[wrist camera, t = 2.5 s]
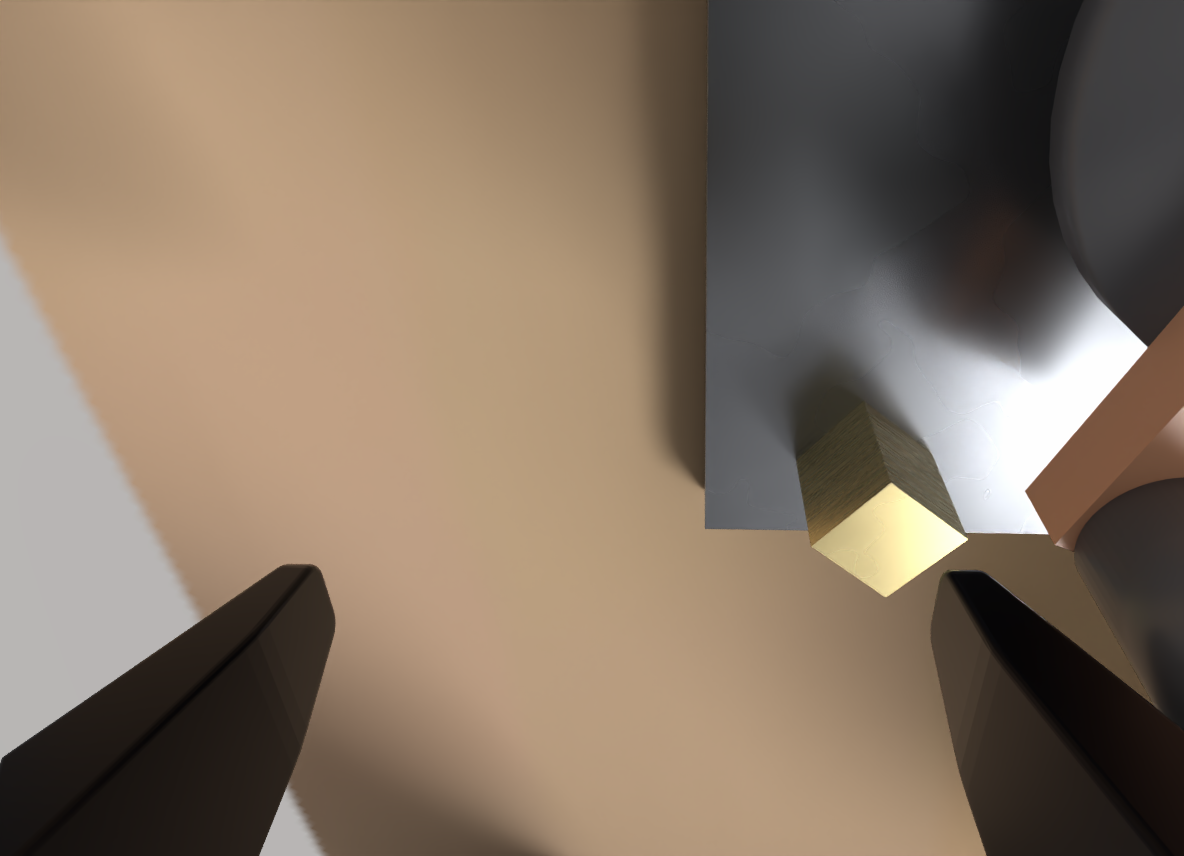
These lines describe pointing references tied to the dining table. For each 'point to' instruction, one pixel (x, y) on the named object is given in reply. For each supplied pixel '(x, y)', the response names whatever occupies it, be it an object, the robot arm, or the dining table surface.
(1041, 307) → the hub plate
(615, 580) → the dining table surface
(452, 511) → the dining table surface
